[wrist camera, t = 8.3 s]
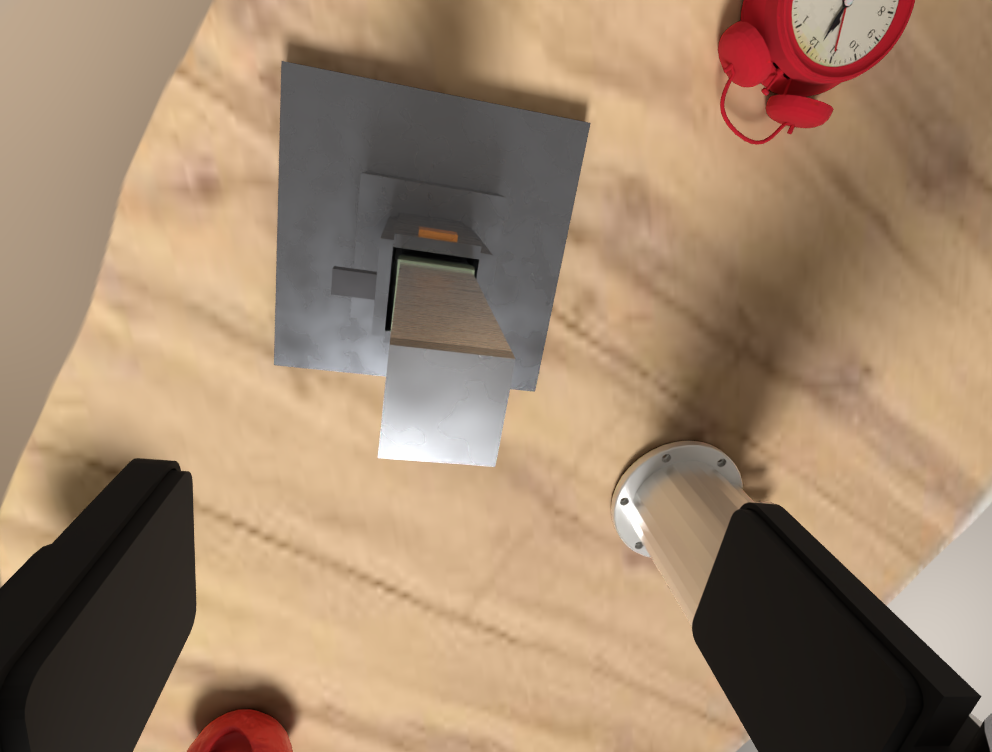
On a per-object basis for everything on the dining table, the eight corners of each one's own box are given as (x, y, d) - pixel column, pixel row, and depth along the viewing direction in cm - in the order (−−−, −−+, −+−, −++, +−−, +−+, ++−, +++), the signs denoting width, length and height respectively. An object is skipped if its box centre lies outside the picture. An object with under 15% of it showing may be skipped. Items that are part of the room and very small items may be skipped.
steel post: (464, 251, 29) (520, 355, 14) (456, 312, 30) (498, 470, 15) (400, 241, 29) (385, 340, 13) (394, 304, 30) (373, 461, 15)
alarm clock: (967, -38, 35) (842, 166, 35) (877, 7, 41) (771, 180, 41) (869, -168, 32) (733, 58, 32) (786, -98, 38) (672, 91, 38)
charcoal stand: (584, 124, 39) (683, 105, 24) (531, 384, 46) (584, 488, 31) (286, 64, 35) (198, 1, 21) (278, 358, 42) (208, 462, 28)
